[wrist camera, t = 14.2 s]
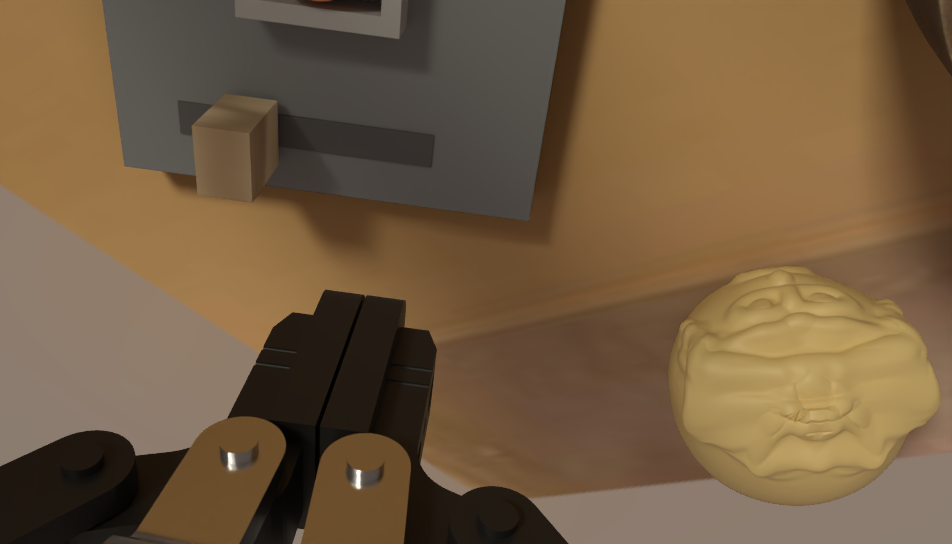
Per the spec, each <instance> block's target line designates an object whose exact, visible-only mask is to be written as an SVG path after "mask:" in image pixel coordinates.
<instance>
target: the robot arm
mask: <svg viewBox="0 0 952 544" xmlns="http://www.w3.org/2000/svg"><path fill="white" fill-rule="evenodd" d="M405 313H406V301H405V300H398V299H391V298H383V297H376V296H369V295H367V296H366V298H365V296H364V295H360V294H353V293H346V292H338V291H331V290H325V291H324V292H323V294H322V296H321V299H320V301H319V303H318V305H317V308H316V310H315V312H314V314H313V315H308V314H301V313H294V312H293V313H291V314H290V315H289V316H287V317H286V318H285V319H283V320H282V321H281V322H279V323H278V324H277V325H276V326H274V327H273V329H272V331H271V333H270V335H269V337H268V338H267V340H266V342H265V344H264V348H263V350H261V352H260V354H259V356H258V358H257V360H256V365H254V366H253V368H252V370H251V372H250V374H249V376H248V378H247V380H246V382H245V384H244V386H243V388H242V390H241V392H240V394H239V396H238V398H237V400H236V402H235V404H234V406H233V408H232V410H231V412H230V414H229V416H228V418H227V419H225V420H222V421H219V422H217V423H215V424H213V425H211V426H209V427H208V428H206V429H205V430H204V431H203V432H202V433H201V434H200V435H199V436H198V437H197V438H196V440H195V441H194V443H193V445H192V446H191V447H190V448H187V449H183V450H179V451H173V452H165V453H156V454H147V455H139V456H135V451H134V448H133V446H132V445H131V443H130V442H129V441H128V440H127V439H125V438H124V437H123V436H121V435H119V434H116V433H113V432H108V431H99V430H95V431H85V432H79V433H75V434H72V435H69V436H66V437H64V438H61V439H59V440H57V441H55V442H53V443H50V444H48V445H46V446H44V447H42V448H39V449H37V450H35V451H33V452H31V453H29V454H27V455H24V456H22V457H20V458H18V459H16V460H13V461H11V462H9V463H7V464H5V465H2V466H0V544H292V543H293V540H294V537H295V534H296V531H297V528H299V529H304V533H303V537H302V541H301V544H568V543H567V542H566V540H565V539H564V538H563V537H562V536H561V535H560V533H559V532H558V531H557V530H556V529H555V528H554V527H553V525H552V524H551V523H550V522H549V521H548V520H547V518H546V517H545V516H544V515H543V514H542V513H541V512H540V510H539V509H538V508H537V507H536V506H535V505H534V504H533V503H532V502H531V501H530V500H529V499H528V498H526V497H525V496H524V495H522V494H520V493H518V492H516V491H513V490H511V489H507V488H503V487H496V486H488V487H480V488H476V489H473V490H471V491H469V492H467V493H465V494H464V495H462V496H460V495H458V494H456V493H454V492H451V491H449V490H447V489H445V488H443V487H441V486H439V485H438V484H437V483H435V482H434V481H433V480H431V479H430V478H429V477H428V476H427V474H426V473H425V472H424V470H423V469H422V467H421V465H420V462H421V457H422V451H423V446H424V441H425V435H426V430H427V424H428V419H429V414H430V407H431V397H432V388H433V379H434V370H435V361H436V352H437V349H436V347H435V344H434V342H433V340H432V337H431V335H430V332H429V331H426V330H419V329H412V328H404V325H405Z"/></svg>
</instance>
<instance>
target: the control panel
mask: <svg viewBox="0 0 952 544" xmlns="http://www.w3.org/2000/svg"><path fill="white" fill-rule="evenodd" d="M102 2H103V10H104V17H105V25H106V32H107V39H108V47H109V54H110V62H111V69H112V76H113V84H114V91H115V99H116V106H117V113H118V121H119V128H120V136H121V143H122V150H123V158H124V165H125V166H127V167H134V168H141V169H149V170H156V171H163V172H171V173H178V174H185V175H193V176H196V171H195V159H194V147H193V135H192V125H193V124H194V123H195V122H196V121H197V120H198V119H199V118H200V117H201V116H202V115H203V114H204V113H205V112H207V111H208V110H209V109H210V108H211V107H212V106H213V105H214V104H215V103H216V102H217V101H218V100H219V99H220V98H221V97H222V96H223V95H224V94H232V95H239V96H247V97H254V98H261V99H269V100H276V101H277V102H278V148H279V165H278V167H277V168H276V170H275V171H274V172H273V174H272V175H271V177H270V178H269V180H268V181H267V182H266V184H265V185H266V186H273V187H281V188H288V189H295V190H303V191H310V192H317V193H325V194H332V195H339V196H347V197H354V198H361V199H369V200H376V201H383V202H391V203H398V204H405V205H413V206H420V207H427V208H435V209H442V210H449V211H457V212H464V213H471V214H479V215H486V216H493V217H501V218H508V219H515V220H523V221H529V216H530V210H531V204H532V198H533V192H534V186H535V181H536V175H537V169H538V163H539V157H540V151H541V145H542V139H543V133H544V127H545V121H546V115H547V109H548V103H549V97H550V92H551V86H552V80H553V74H554V68H555V62H556V56H557V50H558V44H559V38H560V32H561V26H562V20H563V14H564V8H565V3H566V0H331V1H312V0H102Z"/></svg>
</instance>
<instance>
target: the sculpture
mask: <svg viewBox="0 0 952 544" xmlns="http://www.w3.org/2000/svg"><path fill="white" fill-rule="evenodd" d="M669 394H670V401H671V407H672V411H673V415H674V418H675V421H676V424H677V427H678V429H679V432H680V434H681V436H682V438H683V440H684V442H685V443H686V445H687V447H688V448H689V450H690V451H691V453H692V454H693V456H694V457H695V458H696V460H697V461H698V462H699V463H700V464H701V465H702V466H703V468H704V469H705V470H706V471H708V472H709V473H710V474H711V475H712V476H713V477H714V478H716V479H717V480H718V481H720V482H721V483H722V484H724V485H726V486H727V487H729V488H730V489H732V490H734V491H736V492H739V493H740V494H743V495H745V496H748V497H751V498H754V499H757V500H760V501H764V502H769V503H774V504H780V505H793V506H794V505H795V506H801V505H813V504H820V503H825V502H829V501H832V500H836V499H839V498H842V497H845V496H847V495H849V494H852V493H854V492H856V491H858V490H860V489H861V488H863V487H865V486H866V485H868V484H869V483H871V482H872V481H873V480H875V479H876V478H877V477H878V476H879V475H880V474H881V473H883V472H884V471H885V470H886V469H887V467H888V466H889V465H890V464H891V463H892V461H893V460H894V459H895V457H896V456H897V454H898V453H899V451H900V449H901V447H902V445H903V443H904V441H905V439H906V436H907V434H908V433H909V432H910V431H912V430H913V429H915V428H918V427H921V426H923V425H924V424H926V422H927V421H928V420H929V419H930V418H931V417H932V416H933V415H934V414H935V413H936V412H937V411H938V409H939V406H940V403H941V394H940V388H939V385H938V381H937V378H936V376H935V373H934V370H933V367H932V365H931V363H930V361H929V359H928V357H927V347H926V345H925V342H924V340H923V338H922V337H921V335H920V334H919V332H918V331H917V330H916V329H915V328H914V327H913V326H912V325H911V324H910V323H909V322H907V321H906V320H905V318H904V314H903V312H902V310H901V309H900V308H899V307H898V306H897V305H896V304H895V303H894V302H893V301H891V300H888V299H881V300H874V299H872V298H870V297H868V296H867V295H865V294H863V293H861V292H859V291H857V290H855V289H853V288H850V287H848V286H846V285H843V284H841V283H838V282H836V281H833V280H831V279H828V278H824V277H821V276H818V275H815V274H814V273H813V272H811V271H810V270H809V269H807V268H805V267H802V266H798V267H795V266H782V267H768V268H762V269H756V270H753V271H748V272H743V273H740V274H738V275H737V276H736V277H735V278H734V279H733V280H732V281H731V282H730V283H728V284H727V285H725V286H723V287H721V288H719V289H717V290H716V291H714V292H713V293H711V294H710V295H708V296H707V297H706V298H705V299H703V300H702V301H701V302H700V303H699V304H698V305H697V306H696V307H695V308H694V309H693V311H692V312H691V313H690V314H689V316H688V317H687V319H686V320H685V321H683V322H682V323H681V325H680V328H679V332H678V334H677V337H676V339H675V342H674V344H673V347H672V351H671V355H670V361H669Z"/></svg>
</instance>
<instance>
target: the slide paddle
mask: <svg viewBox="0 0 952 544" xmlns="http://www.w3.org/2000/svg"><path fill="white" fill-rule="evenodd" d="M192 135H193V147H194V159H195V171H196V183H197V195H201V196H208V197H215V198H223V199H230V200H237V201H245V202H253V201H254V199H255V198H256V197H257V195H258V194H259V192H260V191H261V189H262V188H263V187H264V185H265V184H266V182H267V181H268V180H269V178H270V177H271V175H272V174H273V172H274V171H275V170H276V168H277V167H278V165H279V148H278V102H277V101H276V100H269V99H261V98H254V97H247V96H239V95H232V94H224V95H223V96H222V97H221V98H220V99H219V100H218V101H217V102H216V103H215V104H214V105H213V106H212V107H211V108H210V109H209V110H208V111H207V112H205V113H204V114H203V115H202V116H201V117H200V118H199V119H198V120H197V121H196V122H195V123H194V124H193V125H192Z"/></svg>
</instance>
